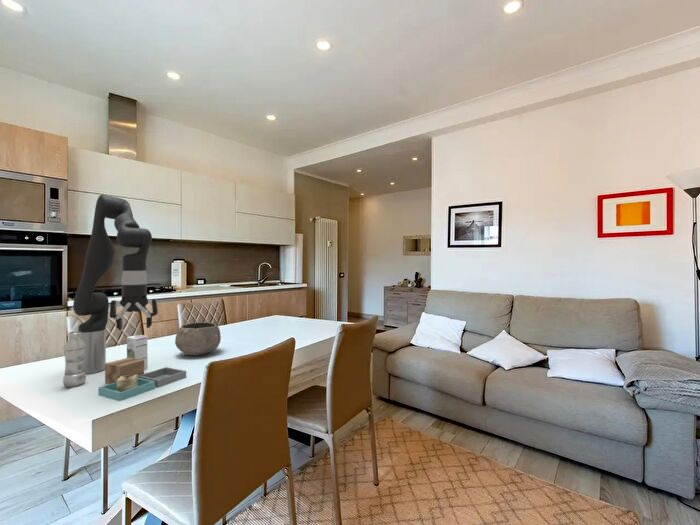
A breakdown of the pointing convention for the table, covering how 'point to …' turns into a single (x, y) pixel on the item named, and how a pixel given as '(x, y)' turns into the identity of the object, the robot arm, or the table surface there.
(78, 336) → the plastic bottle
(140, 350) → the syrup box
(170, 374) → the gray bin
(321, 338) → the table surface
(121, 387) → the letter cube
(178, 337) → the clay pot
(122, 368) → the walnut stand
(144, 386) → the teal bin
